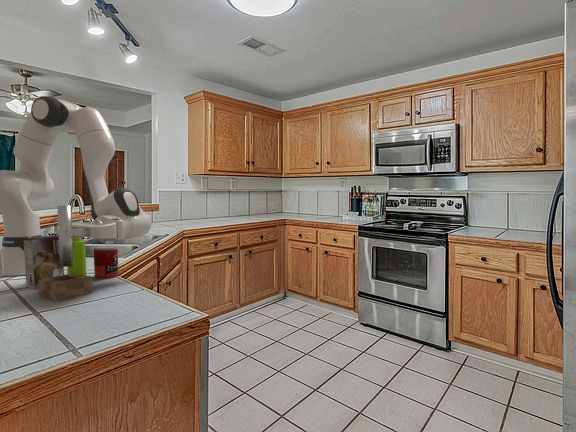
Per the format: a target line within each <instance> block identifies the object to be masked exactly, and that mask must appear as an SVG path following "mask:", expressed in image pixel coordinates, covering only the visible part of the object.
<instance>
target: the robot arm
mask: <svg viewBox="0 0 576 432" xmlns="http://www.w3.org/2000/svg"><path fill="white" fill-rule="evenodd" d="M60 133H67V134H69V135H75V136H76V137H75V138H76V139H77V142H78V145H79V147H80V152H81V158H82V170H83V175H84V180H85V183H86V187H87V190H88V194H89V198H90V205H91V206H90V214H91V218H92V219H93V221H92V222H84V223H74V222H72V229H70V230H66V231H65V235H66V236H79V237H81V238H89V239H95V240H97V241H98V242H101V243H108V242H115V241H122V240H123V239H124V240H132V239H137V238H142V237H144V236H146V235H147V234H148V233H149V232H150V231H151V228H152V219H151V217H150V215H148V214H147V213H146V211H144V210H143V209H142V208H141V206H140V203H139V200H138V196H137V195H136V194H135V192H134V191H132V190H130V189H128V188H126V187H117V188H116V189H115V190H113V191H112V192H110V193H109V191H108V188H107V183H106V180H105V178H106V177H105V174H106V171H107V169H108V166H109V164H110V162H111V161H112V159H113V157H114V155H115V152H116V145H115V141H114V138H113V136H112V133H111V130H110V129H109V126H108V124H107V123H106V120H105V119H104V117H103V116H102V114H101V112H100V111H98V110H97V109H95V108H93V107H84V106H83V107H82V106H80V105H78V104H77V103H76V104H75V103H74V102H71V101H66V100H63V99H58V98H56V97H54V96H46V95H45V96H44V95H42V96H39V97H36V99H34V101H33V102H32V104H31V109H30V113H29V114H28V115H27V117H26V118H25V120H24V122H23V124H22V126H21V129H20V131H19V134H18V137H17V138H16V142H15V145H14V147H13V149H12V150H13V151H12V152H13V156H14V158H16V159H17V160H18V161H19V168H18V170H9V169H7V170H6V169H1V170H0V214H1V217H2V224H3V237H2V240H1V246H2V247H1V248H0V277H12V276H13V277H14V276H15V277H16V276H26V274H25V258H24V243H23V238H33V237H43V236H42V234H41V225H40V223H41V222H40V221H41V220H40V215H39V214H38V212H36V211H34V210H33V209H32V208H31V207H30V205H29V203H28V200H29V201H30V200H33V201H35V200H41V199H45V198H48V197H49V196H51V195H52V194H53V193H54V188H55V185H54V181H53V180H52V178H51V177H50V174H49V161H50V158H51V155H52V153H53V150H54V146H55V144H56V140H57V138H58V137H59V136H58V135H59V134H60ZM56 236H59V234H58V228H57V229H56Z"/></svg>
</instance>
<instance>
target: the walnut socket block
mask: <svg viewBox="0 0 576 432" xmlns="http://www.w3.org/2000/svg"><path fill="white" fill-rule="evenodd" d="M38 285H39V288H38V296H39V298H43V299H46V300H50V301H54V302H61V301H66V300H70V299H74V298H77V297H82V296H85V295H90V294H92V293H93V277H92V276H90V275H86V276H85V275H80V274H75V273H72V274H66V273H65V274H64V275H61V276H56V277H51V278H46V279H40V280H38Z"/></svg>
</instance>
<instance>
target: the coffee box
mask: <svg viewBox="0 0 576 432" xmlns="http://www.w3.org/2000/svg"><path fill="white" fill-rule="evenodd" d="M23 243H24V258H25V274H26V275H25V287H26V288H27V287H28V288H31V289H34V290H37V289H38V290H39V285H38V280H40V279H46V278H51V277H52V269H53V268H59V267H60V258H59V235H47V236H45V235H43V236H42V237H33V238H23ZM63 268H64V269H65V267H63Z"/></svg>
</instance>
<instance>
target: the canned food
mask: <svg viewBox="0 0 576 432" xmlns="http://www.w3.org/2000/svg"><path fill="white" fill-rule="evenodd" d="M93 268H94V269H93V270H94V272H93V273H94V277H95V279H96V280H106V279H107V280H108V279H113V278H117V277H118V276H119V249H118V245H100V246H95V247H93Z"/></svg>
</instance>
